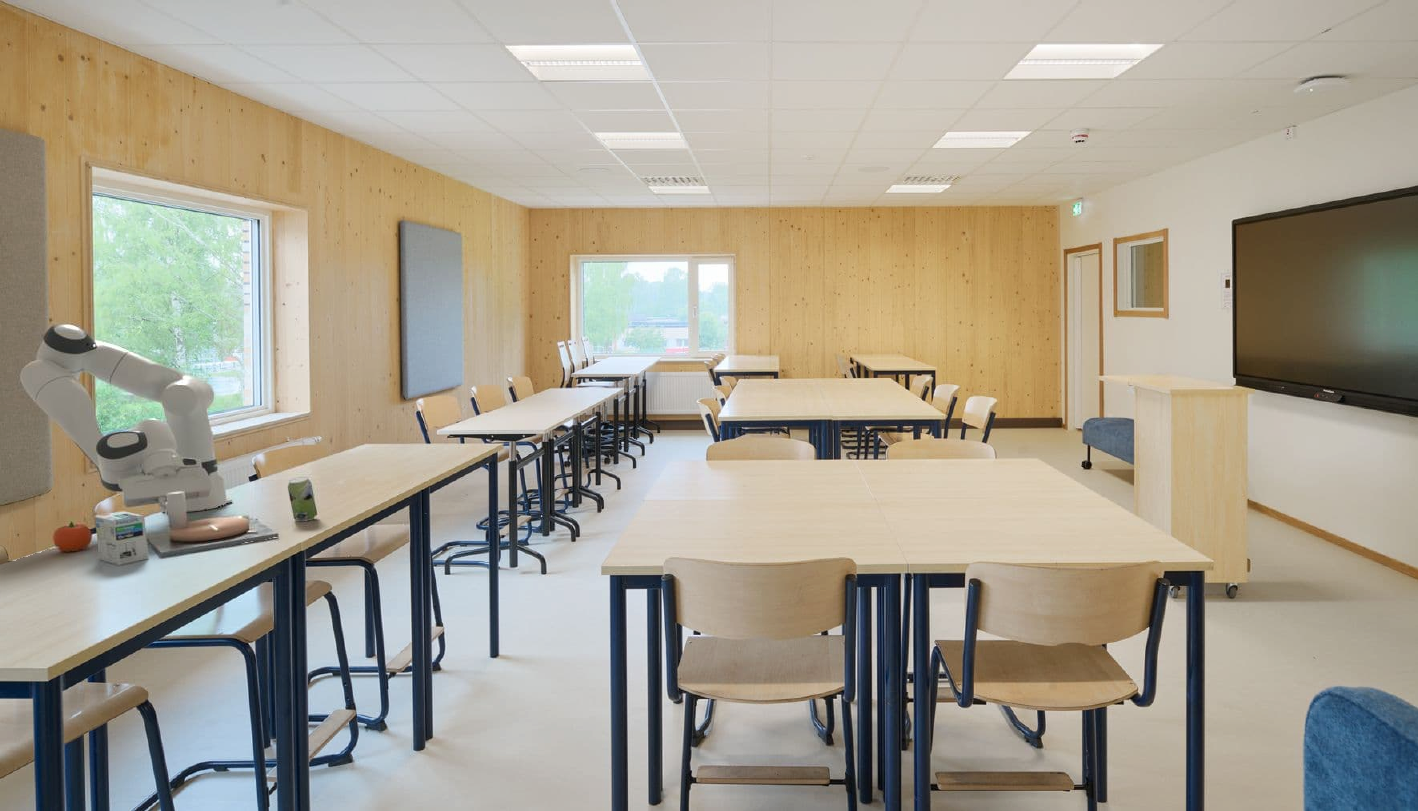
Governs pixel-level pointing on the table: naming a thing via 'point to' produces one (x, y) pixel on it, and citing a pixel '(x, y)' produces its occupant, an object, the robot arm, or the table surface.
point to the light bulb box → (121, 537)
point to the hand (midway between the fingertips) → (173, 512)
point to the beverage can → (302, 499)
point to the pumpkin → (72, 537)
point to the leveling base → (171, 547)
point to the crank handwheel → (199, 523)
